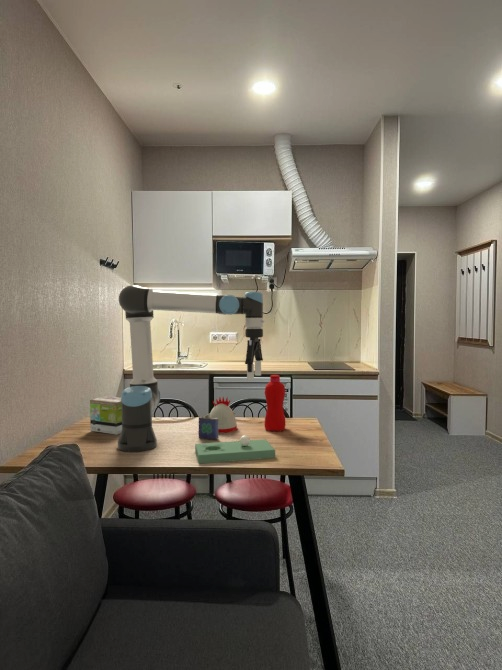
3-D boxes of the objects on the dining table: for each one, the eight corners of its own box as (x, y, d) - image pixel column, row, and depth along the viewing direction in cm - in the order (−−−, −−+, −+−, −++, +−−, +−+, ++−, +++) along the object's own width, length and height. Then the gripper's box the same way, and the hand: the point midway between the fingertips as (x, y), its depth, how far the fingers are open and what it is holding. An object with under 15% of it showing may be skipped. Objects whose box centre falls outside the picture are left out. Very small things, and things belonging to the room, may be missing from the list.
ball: (240, 447, 164) (240, 437, 164) (238, 444, 168) (238, 434, 168) (251, 447, 165) (250, 436, 165) (248, 444, 169) (248, 433, 169)
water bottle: (286, 426, 208) (286, 373, 207) (284, 432, 197) (284, 376, 196) (267, 425, 210) (266, 373, 209) (263, 431, 199) (263, 376, 198)
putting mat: (198, 463, 156) (198, 455, 156) (195, 451, 170) (195, 443, 170) (275, 457, 162) (275, 449, 162) (265, 446, 176) (265, 439, 176)
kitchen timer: (235, 432, 197) (235, 399, 197) (205, 432, 198) (204, 399, 197) (237, 425, 211) (237, 393, 210) (208, 425, 211) (208, 393, 211)
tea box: (89, 431, 200) (88, 399, 199) (104, 426, 209) (104, 395, 208) (116, 435, 194) (116, 401, 193) (131, 429, 203) (130, 397, 203)
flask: (219, 438, 188) (219, 413, 187) (216, 440, 185) (216, 415, 184) (200, 436, 191) (199, 412, 190) (196, 438, 188) (196, 413, 188)
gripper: (255, 329, 176) (256, 382, 177) (268, 327, 200) (268, 374, 201) (237, 329, 178) (238, 381, 179) (252, 327, 202) (252, 373, 203)
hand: (254, 377), depth 190 cm, fingers open, 13 cm apart
